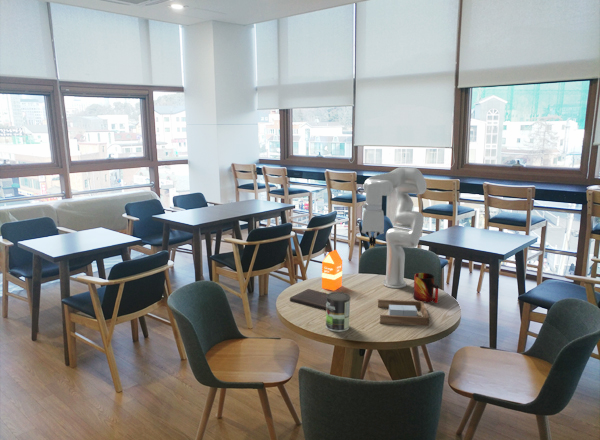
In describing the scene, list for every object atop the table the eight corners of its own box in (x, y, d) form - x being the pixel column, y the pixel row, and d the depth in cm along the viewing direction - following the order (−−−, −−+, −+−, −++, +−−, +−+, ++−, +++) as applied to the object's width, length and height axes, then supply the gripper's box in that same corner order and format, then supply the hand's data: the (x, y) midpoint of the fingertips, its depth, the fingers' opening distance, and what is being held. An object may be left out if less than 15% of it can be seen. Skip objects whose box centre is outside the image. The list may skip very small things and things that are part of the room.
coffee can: (334, 333, 196) (334, 302, 194) (321, 324, 205) (321, 294, 202) (354, 328, 201) (355, 297, 199) (340, 320, 210) (341, 290, 207)
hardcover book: (308, 292, 246) (308, 288, 246) (346, 302, 233) (346, 298, 232) (289, 301, 233) (289, 297, 233) (328, 312, 220) (329, 308, 220)
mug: (436, 305, 228) (438, 282, 225) (410, 299, 236) (411, 276, 234) (444, 299, 235) (445, 277, 233) (418, 293, 244) (419, 271, 241)
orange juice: (342, 286, 255) (342, 250, 251) (334, 290, 248) (334, 254, 244) (329, 283, 259) (329, 248, 255) (321, 287, 252) (321, 252, 248)
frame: (377, 306, 226) (378, 299, 226) (422, 308, 224) (422, 301, 223) (380, 323, 207) (380, 315, 206) (428, 325, 205) (429, 318, 204)
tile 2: (401, 313, 219) (401, 305, 218) (414, 313, 218) (415, 305, 217) (403, 318, 213) (403, 310, 212) (416, 318, 212) (417, 310, 212)
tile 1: (388, 312, 219) (388, 304, 218) (401, 313, 219) (401, 305, 218) (389, 317, 213) (390, 309, 213) (403, 318, 213) (403, 310, 212)
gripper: (357, 208, 220) (356, 246, 223) (390, 209, 218) (388, 247, 222) (357, 206, 227) (356, 242, 231) (389, 206, 225) (387, 243, 229)
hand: (372, 245), depth 226 cm, fingers closed
